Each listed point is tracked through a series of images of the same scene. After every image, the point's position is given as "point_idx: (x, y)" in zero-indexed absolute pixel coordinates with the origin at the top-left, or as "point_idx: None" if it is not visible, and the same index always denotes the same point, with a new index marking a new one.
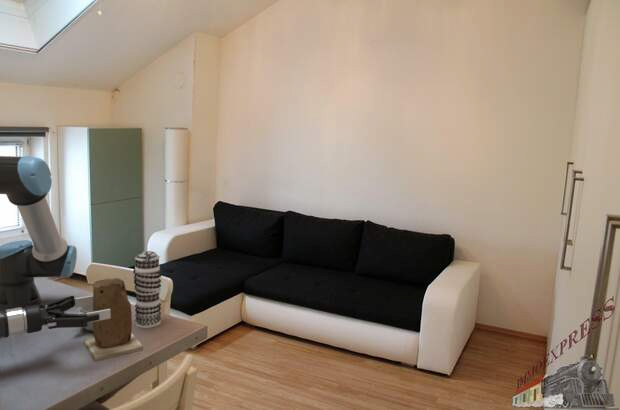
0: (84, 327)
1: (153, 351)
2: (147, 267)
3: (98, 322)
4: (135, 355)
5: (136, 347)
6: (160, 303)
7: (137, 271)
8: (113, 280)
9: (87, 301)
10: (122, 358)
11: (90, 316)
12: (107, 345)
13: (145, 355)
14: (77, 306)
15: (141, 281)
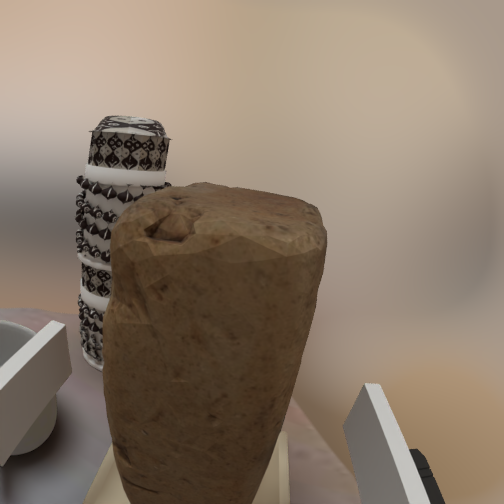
0: None
1: (307, 425)
2: (155, 164)
3: (258, 487)
4: (311, 466)
5: (286, 447)
6: None
7: (116, 181)
8: (234, 193)
9: (34, 390)
10: (314, 500)
11: (432, 495)
12: None
13: (324, 447)
14: (5, 454)
15: None
